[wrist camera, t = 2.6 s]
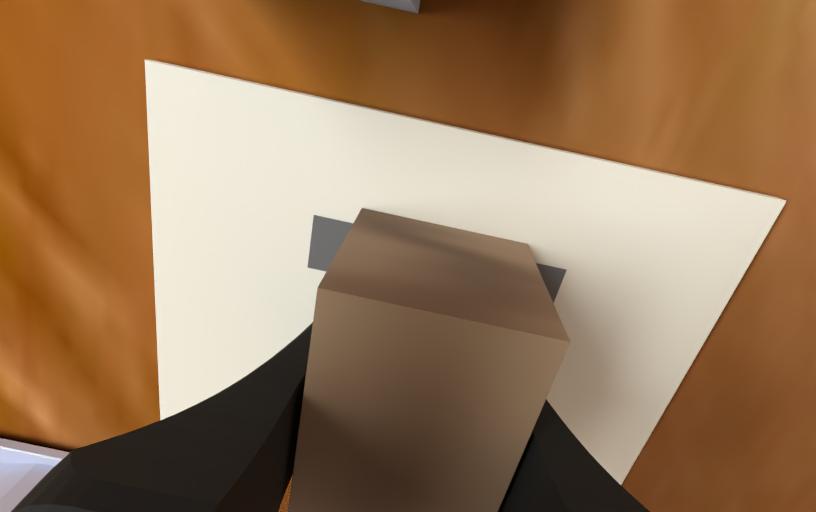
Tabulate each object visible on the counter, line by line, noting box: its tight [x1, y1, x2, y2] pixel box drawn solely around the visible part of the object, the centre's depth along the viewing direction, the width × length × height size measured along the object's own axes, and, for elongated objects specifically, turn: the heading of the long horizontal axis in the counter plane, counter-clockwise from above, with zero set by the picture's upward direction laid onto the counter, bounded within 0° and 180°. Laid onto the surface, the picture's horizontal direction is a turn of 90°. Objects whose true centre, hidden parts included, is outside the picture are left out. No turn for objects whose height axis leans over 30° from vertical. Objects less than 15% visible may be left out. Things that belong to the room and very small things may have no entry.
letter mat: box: [145, 60, 786, 485], centre depth 14 cm, size 16×13×1 cm
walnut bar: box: [288, 208, 570, 512], centre depth 11 cm, size 4×8×4 cm, turn 169°
